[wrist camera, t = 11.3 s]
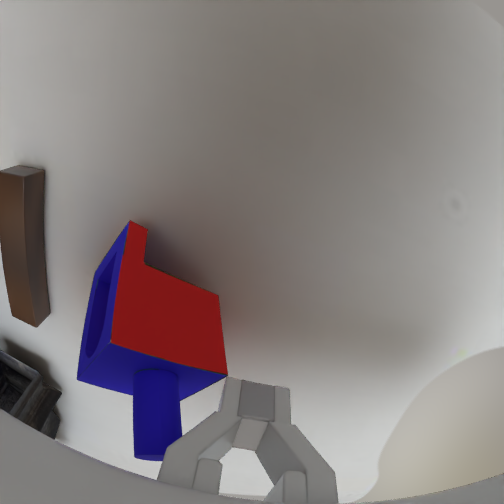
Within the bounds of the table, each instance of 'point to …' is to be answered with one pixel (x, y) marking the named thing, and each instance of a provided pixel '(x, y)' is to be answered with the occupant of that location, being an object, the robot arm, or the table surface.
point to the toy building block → (150, 340)
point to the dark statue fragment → (27, 396)
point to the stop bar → (24, 243)
